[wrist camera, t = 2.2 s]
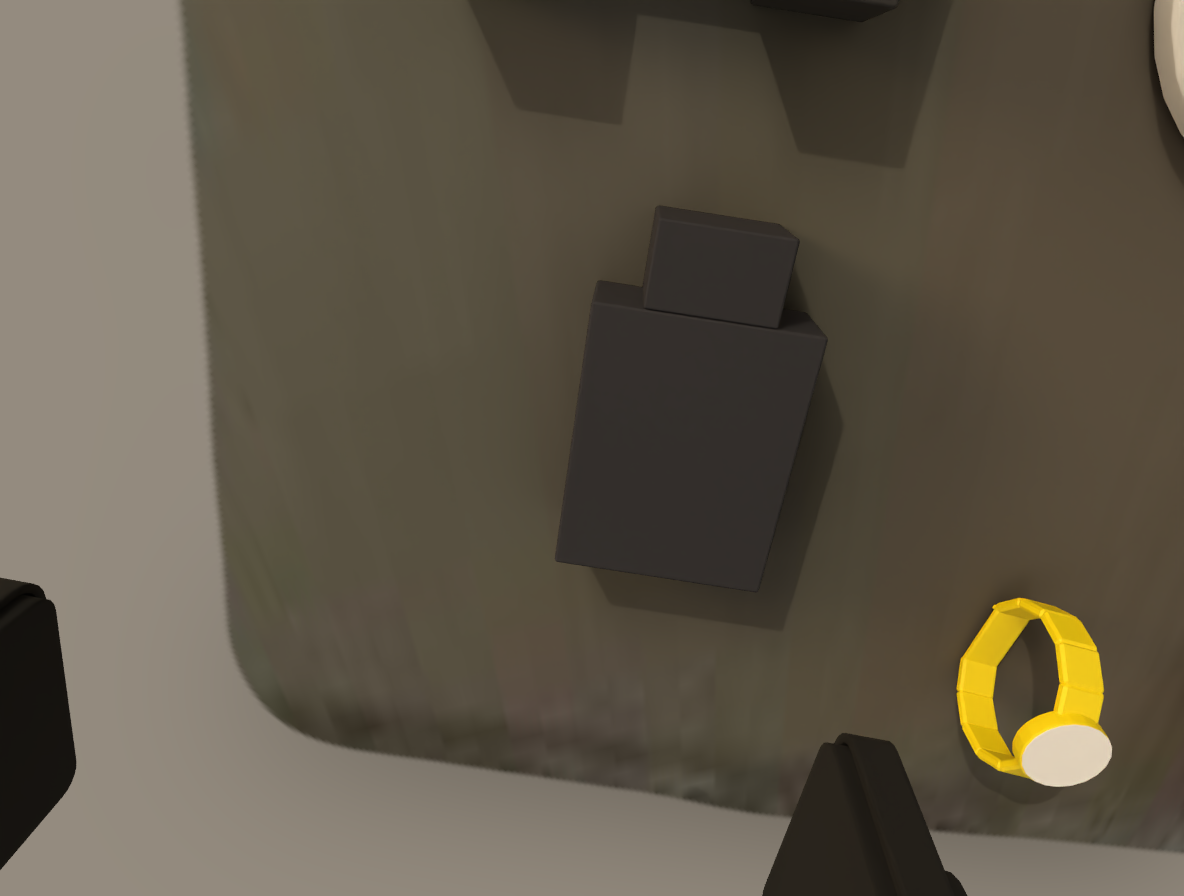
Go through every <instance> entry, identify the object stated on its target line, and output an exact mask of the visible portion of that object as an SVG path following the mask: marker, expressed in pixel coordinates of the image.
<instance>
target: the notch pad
mask: <svg viewBox="0 0 1184 896" xmlns="http://www.w3.org/2000/svg"><path fill="white" fill-rule="evenodd" d="M751 4H753V5H756V6H762V7H769V8H775V9H781V10H788V11H794V12H801V13H807V14H813V15H820V16H826V17H833V18H839V19H846V20H852V21H858V22H863V21H866V20H868V19H870V18H873V17H875V16H878V15H880V14H882V13H885V12H887V11H890V10H892V9H894V8H896V7H897V6H898V4H899V0H751Z"/></svg>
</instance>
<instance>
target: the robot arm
mask: <svg viewBox="0 0 1184 896" xmlns="http://www.w3.org/2000/svg"><path fill="white" fill-rule="evenodd" d="M1154 57H1155V61H1156V66H1157V70H1158V75H1159V79H1160V84H1161V89H1162V93H1163V98H1164V100H1165V102H1166V104H1167V106H1168V108H1169V110H1170V112H1171V115H1172V117H1173V119H1174V121H1175V123H1176V125H1177V127H1178V129H1179V131H1180V133H1181V135H1182V136H1183V137H1184V0H1155V5H1154ZM75 770H76V756H75V748H74V741H73V733H72V727H71V719H70V712H69V704H68V697H67V689H66V681H65V674H64V667H63V659H62V652H61V645H60V637H59V631H58V623H57V615H56V609H55V606H54V604H53V603H52V601H51V600H47V599H46V597H45V594H44V591H43V590H42V589H41V588H40V586H38V585H35V584H31V583H26V582H20V581H15V580H10V579H4V578H0V870H1V869H2V867H3V866H4V865H5V864H6V863H7V862H8V860H9V859H10V858H11V857H12V856H13V854H14V853H15V852H16V851H17V850H18V848H19V847H20V846H21V845H22V844H23V843H24V841H25V840H26V839H27V838H28V837H29V836H30V834H31V833H32V832H33V831H34V830H35V829H36V827H37V826H38V825H39V824H40V823H41V821H42V820H43V819H44V818H45V817H46V816H47V814H48V813H49V812H50V811H51V810H52V808H53V807H54V806H55V805H56V804H57V803H58V801H59V800H60V799H61V798H62V797H63V795H64V794H65V793H66V791H67V790H68V788H69V786H70V784H71V782H72V779H73V777H74V774H75ZM762 896H967V894H966V892H965V890H964V888H963V887H962V885H961V883H960V881H959V880H958V879H957V878H956V877H955V876H954V875H953V874H952V873H951V872H948V871H945V870H944V868H943V865H942V863H941V860H940V858H939V855H938V853H937V850H936V847H935V845H934V842H933V840H932V837H931V835H930V832H929V830H928V827H927V825H926V822H925V820H924V817H923V815H922V812H921V810H920V807H919V805H918V802H917V799H916V797H915V794H914V792H913V789H912V787H911V784H910V782H909V779H908V777H907V774H906V772H905V769H904V767H903V764H902V762H901V759H900V756H899V754H898V752H897V750H896V748H895V746H894V745H893V744H892V743H891V742H890V741H885V740H880V739H874V738H869V737H863V736H858V735H852V734H847V733H842V734H841V735H839V736H838V737H837V739H836V741H835V743H834V744H832V743H824V744H823V745H822V746H821V747H820V749H819V752H818V754H817V757H816V759H815V762H814V764H813V767H812V769H811V772H810V774H809V777H808V779H807V782H806V784H805V787H804V789H803V792H802V794H801V797H800V799H799V802H798V804H797V807H796V809H795V812H794V814H793V817H792V819H791V822H790V824H789V827H788V829H787V832H786V834H785V837H784V839H783V842H782V844H781V847H780V849H779V852H778V854H777V857H776V859H775V862H774V864H773V867H772V869H771V872H770V874H769V877H768V879H767V882H766V884H765V887H764V890H763V895H762Z"/></svg>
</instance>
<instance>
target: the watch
mask: <svg viewBox="0 0 1184 896" xmlns="http://www.w3.org/2000/svg"><path fill="white" fill-rule="evenodd" d="M992 608H993V609H994V610H993V612H992V613H991V615H990V616H989V618H988V619H987V621H986V622H985V624H984V625H983V627H982V628H981V630H980V631H979V633H978V634H977V636H976V637H975V639H974V640H973V642H972V643H971V645H970V646H969V648H968V649H967V651H966V652H965V654H964V655H963V657H962V658H961V660H960V667H959V675H958V682H957V691H958V693H957V700H958V707H959V715H960V722H961V725H962V726H963V727H962V729H963V731H964V733H965V735H966V737H967V738H968V740H969V742H970V744H971V746H972V748H973V750H974V752H975V754H976V755H977V756H978V757H979V759H981V760H983V761H984V762H986V763H987V764H989V765H991V766H992V767H994V768H995V769H997V770H998V771H1002V772H1006V773H1010V774H1014V775H1018V776H1022V777H1026V778H1030V779H1031V780H1033V781H1035V782H1038V783H1040V784H1043V785H1047V786H1055V787H1062V786H1072V785H1076V784H1079V783H1082V782H1085V781H1087V780H1089V779H1091V778H1093V777H1094V776H1096V775H1098V774H1099V773H1100V772H1101V771H1102V770H1103V769H1104V768H1105V767H1106V766H1107V764H1108V762H1109V760H1110V758H1111V754H1112V746H1111V744H1110V741H1109V739H1108V737H1107V735H1106V734H1105V732H1104V731H1103V729H1102V728H1101V726H1100V725H1099V724H1098V721H1099V717H1100V712H1101V708H1102V703H1103V698H1104V696H1103V694H1102V693H1103V692H1104V687H1103V680H1102V673H1101V666H1100V659H1099V653H1098V652H1097V647H1096V646H1095V644H1094V642H1093V641H1092V639H1091V637H1090V636H1089V634H1088V633H1087V631H1086V629H1085V628H1084V626H1083V624H1082V623H1081V621H1080V620H1078V619H1077V617H1075V616H1073V615H1071V614H1069V613H1067V612H1065V611H1063V610H1061V609H1059V608H1057V607H1055V606H1052V605H1048V604H1044V603H1040V602H1036V601H1033V600H1029V599H1025V598H1017V599H1012V600H1008V601H1004V602H1000V603H998V604H996V605H995V604H994V606H993V607H992ZM1038 618H1040V619H1041V620H1042V622H1043V624H1044V625H1045V627H1046V629H1047V631H1048V633H1049V634H1050V636H1051V638H1052V640H1053V642H1054V644H1055V646H1056V655H1057V664H1058V673H1059V682H1060V683H1061V684H1059V688H1058V693H1057V697H1056V702H1055V707H1054V711H1051V712H1048V713H1045V714H1041V715H1038V716H1036V717H1035V718H1033V719H1031V720H1030V721H1028V722H1026V723H1025V724H1024V725H1023V726H1022V727H1021V728H1020V729H1019V730H1018V731H1017V733H1016V735H1015V737H1014V739H1013V744H1012V751H1013V754H1014V756H1015V757H1014V756H1012V755H1011V753H1010V751H1009V749H1008V748H1007V746H1006V744H1005V742H1004V741H1003V739H1002V737H1001V736H1000V734H999V732H998V727H997V721H996V716H995V710H994V704H993V700H992V699H993V693H994V685H995V677H996V669H997V666H998V664H999V663H1000V661H1001V660H1002V659H1003V657H1004V656H1005V654H1006V653H1007V652H1008V650H1009V649H1010V647H1011V646H1012V645H1013V643H1014V642H1015V640H1016V639H1017V637H1018V636H1019V635H1020V633H1021V632H1022V630H1023V629H1024V628H1025V626H1026V625H1027V623H1028V622H1029V621H1030V620H1032V619H1038Z"/></svg>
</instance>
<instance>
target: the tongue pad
mask: <svg viewBox="0 0 1184 896" xmlns="http://www.w3.org/2000/svg"><path fill="white" fill-rule="evenodd" d="M798 246H799V239H797V238H796V237H795V236H794V235H792V234H791V233H790V232H789V231H787V230H786V229H785V228H784V227H782V226H781V225H780V224H775V223H768V222H762V221H755V220H749V219H742V218H736V217H729V216H723V215H717V214H710V213H704V212H697V211H691V210H684V209H678V208H671V207H665V206H657V207H656V210H655V216H654V221H653V227H652V233H651V239H650V245H649V251H648V257H647V263H646V269H645V275H644V281H643V287H639V286H633V285H626V284H620V283H613V282H607V281H598V282H597V284H596V288H595V292H594V295H593V299H592V303H591V310H590V317H589V324H588V330H587V337H586V344H585V351H584V358H583V365H582V372H581V379H580V386H579V393H578V400H577V407H576V414H575V421H574V428H573V435H572V442H571V449H570V456H569V463H568V470H567V477H566V484H565V491H564V498H563V505H562V512H561V519H560V526H559V533H558V540H557V547H556V554H555V560H556V561H557V562H563V563H569V564H576V565H582V566H589V567H595V568H602V569H608V570H615V571H621V572H628V573H634V574H641V575H647V576H654V577H660V578H667V579H673V580H680V581H686V582H693V583H699V584H706V585H712V586H719V587H725V588H732V589H738V590H745V591H751V592H758V591H759V588H760V584H761V580H762V577H763V573H764V569H765V566H766V562H767V559H768V555H769V551H770V548H771V544H772V540H773V537H774V533H775V530H776V526H777V522H778V519H779V515H780V511H781V508H782V504H783V501H784V497H785V493H786V490H787V486H788V482H789V479H790V475H791V472H792V468H793V464H794V461H795V457H796V453H797V450H798V446H799V443H800V439H801V435H802V432H803V428H804V424H805V421H806V417H807V414H808V410H809V406H810V403H811V399H812V395H813V392H814V388H815V385H816V381H817V377H818V374H819V370H820V366H821V363H822V359H823V356H824V352H825V348H826V345H827V341H828V339H827V337H826V336H825V334H824V333H823V332H822V331H821V330H820V328H819V327H818V326H817V325H816V324H815V322H814V321H813V320H812V319H811V318H810V316H809V315H808V314H807V313H805V312H800V311H794V310H787V309H783V307H784V303H785V299H786V295H787V291H788V287H789V283H790V279H791V275H792V270H793V266H794V262H795V258H796V254H797V250H798Z"/></svg>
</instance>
